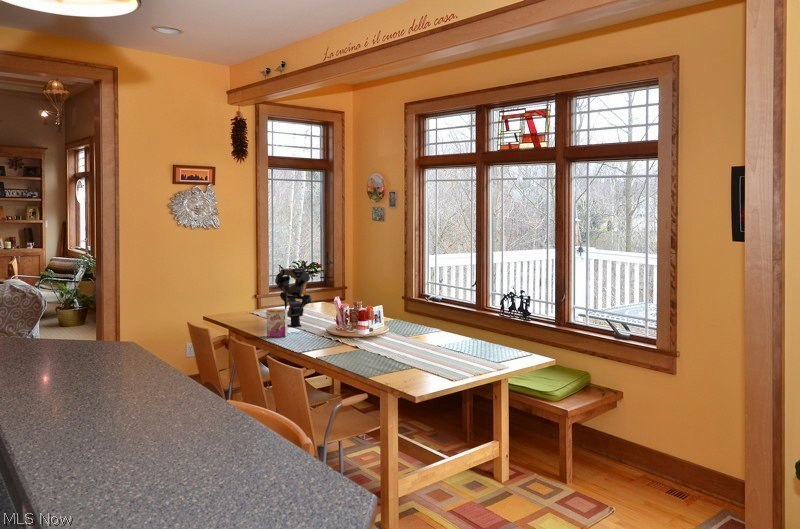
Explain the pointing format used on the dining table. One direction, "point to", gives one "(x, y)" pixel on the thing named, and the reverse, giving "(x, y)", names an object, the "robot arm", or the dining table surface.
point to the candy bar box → (277, 323)
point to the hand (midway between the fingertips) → (292, 309)
